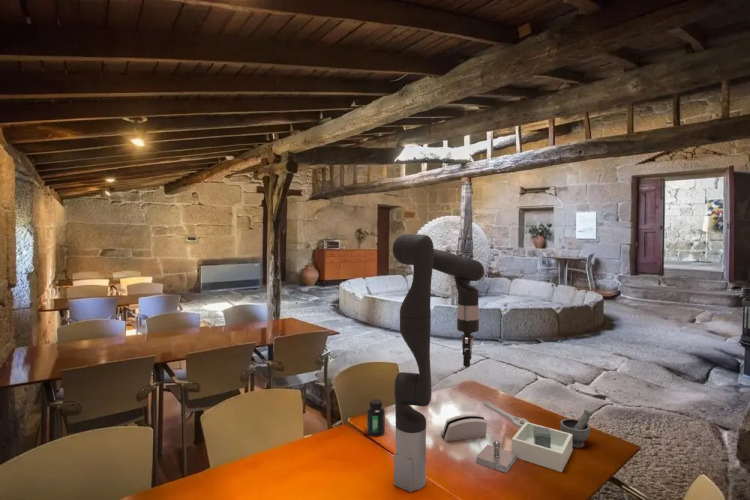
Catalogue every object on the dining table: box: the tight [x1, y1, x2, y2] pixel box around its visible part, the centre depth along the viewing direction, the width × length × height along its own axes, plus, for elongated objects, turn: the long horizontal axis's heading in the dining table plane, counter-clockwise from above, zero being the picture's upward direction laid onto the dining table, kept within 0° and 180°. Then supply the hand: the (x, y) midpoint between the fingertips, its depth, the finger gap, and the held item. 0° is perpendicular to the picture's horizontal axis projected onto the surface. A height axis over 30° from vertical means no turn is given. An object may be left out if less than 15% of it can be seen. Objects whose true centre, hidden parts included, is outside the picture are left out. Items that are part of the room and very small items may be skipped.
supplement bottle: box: [366, 398, 386, 437], centre depth 156 cm, size 7×7×12 cm
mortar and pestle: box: [559, 409, 593, 449], centre depth 149 cm, size 11×9×12 cm
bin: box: [511, 421, 573, 473], centre depth 141 cm, size 16×16×6 cm
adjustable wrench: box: [483, 401, 529, 429], centre depth 172 cm, size 25×6×2 cm, turn 19°
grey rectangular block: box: [534, 427, 551, 449], centre depth 141 cm, size 5×5×7 cm
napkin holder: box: [440, 413, 488, 442], centre depth 153 cm, size 17×5×10 cm, turn 104°
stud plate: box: [475, 440, 518, 474], centre depth 137 cm, size 10×10×7 cm
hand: (467, 362), depth 145 cm, fingers open, 8 cm apart
